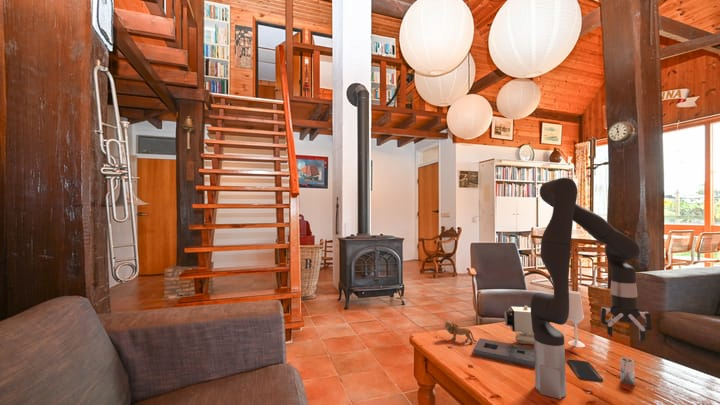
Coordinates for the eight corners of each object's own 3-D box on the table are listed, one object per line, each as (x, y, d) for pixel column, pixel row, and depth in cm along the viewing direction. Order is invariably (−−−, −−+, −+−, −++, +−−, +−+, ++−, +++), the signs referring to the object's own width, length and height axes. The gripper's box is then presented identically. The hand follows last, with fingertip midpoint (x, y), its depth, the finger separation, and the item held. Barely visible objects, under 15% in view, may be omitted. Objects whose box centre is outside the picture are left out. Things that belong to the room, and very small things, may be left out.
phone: (587, 361, 130) (604, 380, 116) (588, 364, 130) (604, 383, 116) (565, 359, 132) (579, 377, 118) (566, 361, 132) (579, 380, 118)
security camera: (545, 341, 152) (543, 303, 153) (550, 348, 144) (549, 309, 144) (504, 338, 157) (503, 301, 157) (507, 345, 148) (506, 306, 149)
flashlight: (636, 386, 113) (635, 363, 113) (621, 383, 115) (620, 360, 115) (633, 381, 116) (632, 358, 116) (619, 378, 118) (619, 356, 118)
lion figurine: (444, 341, 154) (444, 322, 154) (445, 337, 159) (445, 319, 159) (476, 345, 149) (476, 325, 149) (476, 340, 154) (476, 322, 154)
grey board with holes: (536, 368, 126) (536, 362, 126) (473, 355, 139) (473, 349, 139) (537, 354, 138) (537, 348, 138) (479, 343, 151) (479, 338, 151)
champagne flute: (567, 340, 153) (565, 290, 154) (583, 342, 150) (582, 291, 150) (568, 345, 147) (566, 293, 148) (586, 348, 144) (584, 294, 144)
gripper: (601, 294, 117) (602, 338, 117) (652, 298, 110) (654, 346, 109) (598, 289, 123) (600, 331, 123) (646, 293, 116) (648, 338, 116)
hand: (625, 338), depth 116 cm, fingers open, 8 cm apart
